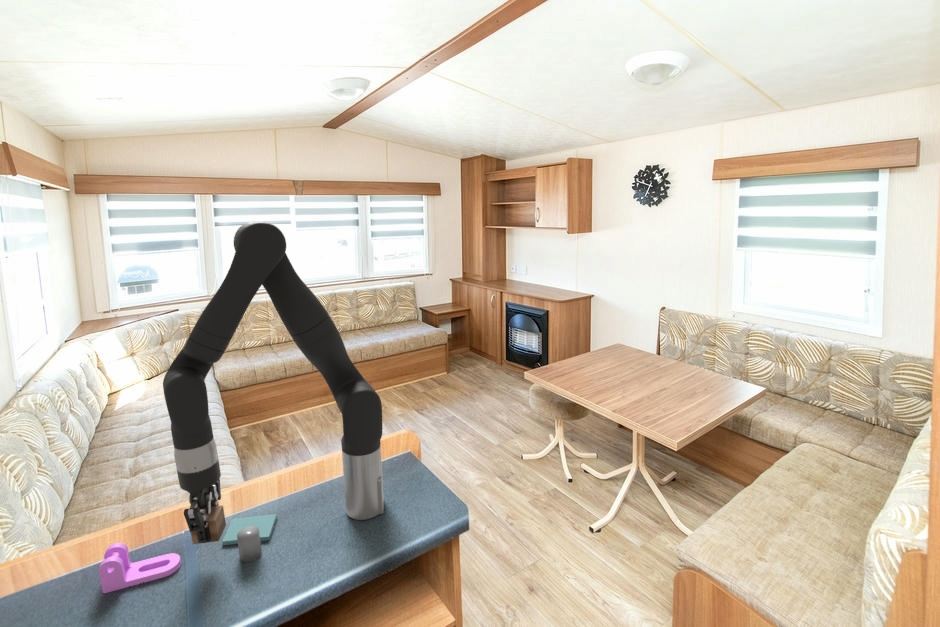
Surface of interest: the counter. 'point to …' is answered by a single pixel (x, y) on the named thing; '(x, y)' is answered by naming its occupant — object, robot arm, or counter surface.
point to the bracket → (133, 568)
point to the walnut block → (213, 524)
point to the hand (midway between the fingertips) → (209, 532)
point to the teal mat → (261, 522)
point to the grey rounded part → (249, 543)
